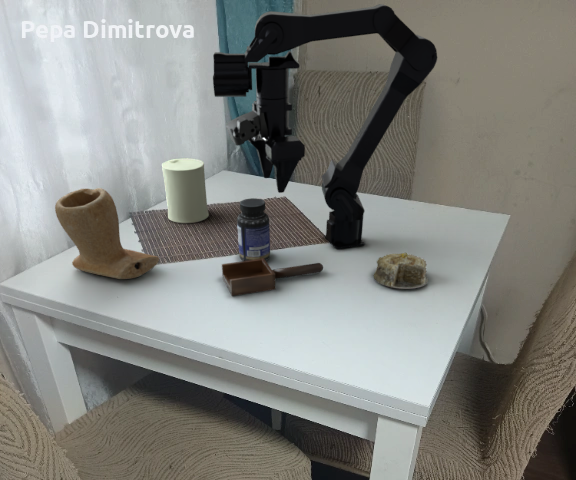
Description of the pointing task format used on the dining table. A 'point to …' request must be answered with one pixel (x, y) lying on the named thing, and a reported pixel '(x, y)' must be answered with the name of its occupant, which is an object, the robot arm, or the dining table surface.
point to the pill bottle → (253, 230)
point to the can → (185, 190)
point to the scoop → (260, 275)
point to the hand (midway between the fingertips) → (273, 184)
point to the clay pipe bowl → (99, 235)
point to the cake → (401, 271)
